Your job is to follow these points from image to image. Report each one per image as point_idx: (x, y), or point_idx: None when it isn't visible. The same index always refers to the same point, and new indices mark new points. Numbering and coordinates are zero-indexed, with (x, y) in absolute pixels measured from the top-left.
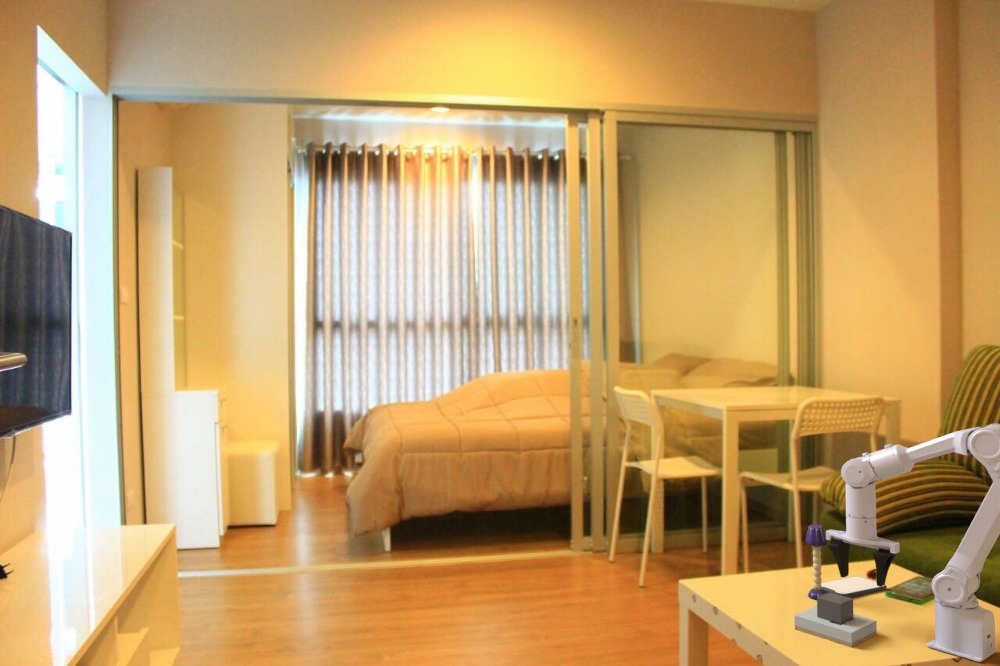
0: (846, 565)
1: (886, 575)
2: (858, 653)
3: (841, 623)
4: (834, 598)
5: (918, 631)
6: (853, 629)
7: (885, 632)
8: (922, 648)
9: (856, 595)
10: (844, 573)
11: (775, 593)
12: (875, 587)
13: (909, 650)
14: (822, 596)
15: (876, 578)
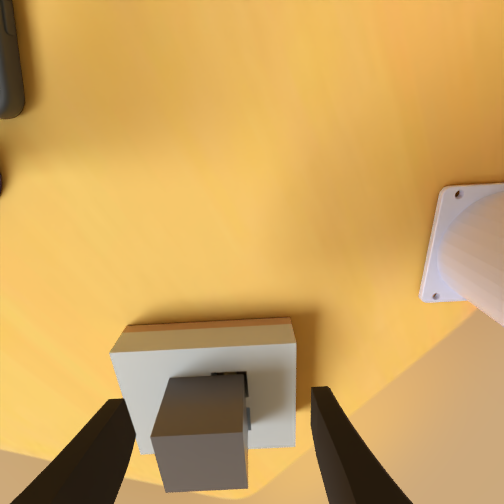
0: (93, 471)
1: (353, 430)
2: None
3: (247, 423)
4: (202, 466)
5: (363, 203)
6: (287, 429)
7: (298, 286)
8: (409, 310)
9: (10, 19)
10: (125, 447)
11: None
12: None
13: (389, 342)
14: (167, 477)
15: (322, 475)
